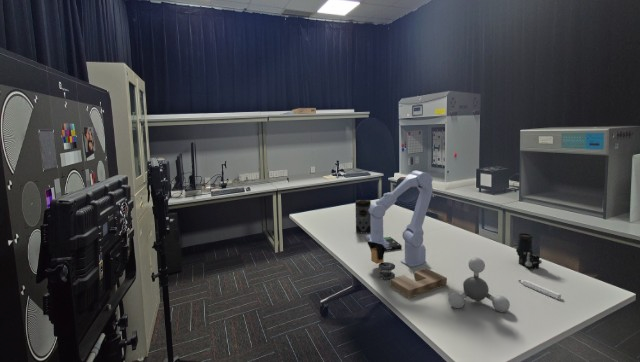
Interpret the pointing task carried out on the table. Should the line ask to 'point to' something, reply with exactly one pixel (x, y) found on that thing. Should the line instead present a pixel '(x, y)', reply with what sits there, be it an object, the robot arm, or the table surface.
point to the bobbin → (386, 271)
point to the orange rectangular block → (375, 256)
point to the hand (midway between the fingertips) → (377, 257)
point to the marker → (540, 289)
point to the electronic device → (363, 216)
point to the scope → (527, 252)
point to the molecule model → (477, 289)
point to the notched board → (418, 283)
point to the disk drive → (392, 244)
